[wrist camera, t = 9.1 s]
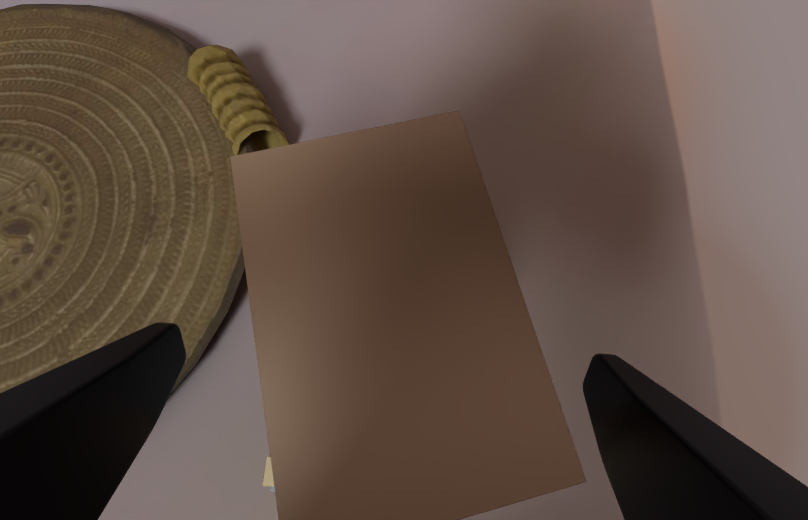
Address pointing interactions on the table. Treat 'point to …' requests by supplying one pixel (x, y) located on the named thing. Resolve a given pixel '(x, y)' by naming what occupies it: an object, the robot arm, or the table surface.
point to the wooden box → (393, 331)
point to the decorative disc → (116, 183)
